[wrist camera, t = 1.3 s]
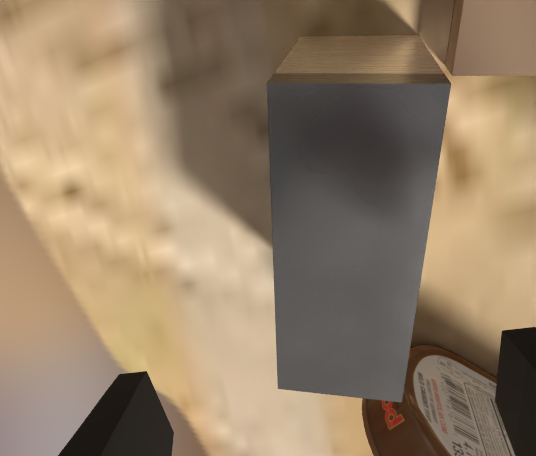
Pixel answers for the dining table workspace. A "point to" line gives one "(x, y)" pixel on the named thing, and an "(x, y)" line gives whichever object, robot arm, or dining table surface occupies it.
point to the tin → (438, 411)
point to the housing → (351, 207)
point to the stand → (492, 38)
